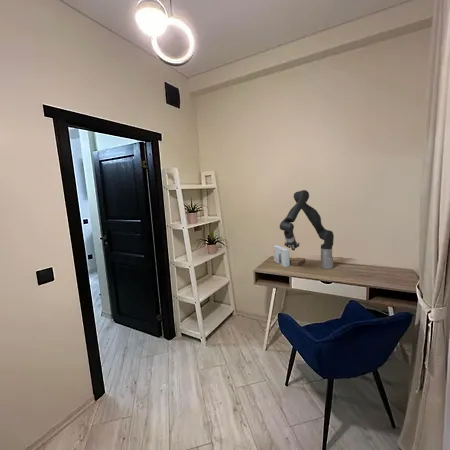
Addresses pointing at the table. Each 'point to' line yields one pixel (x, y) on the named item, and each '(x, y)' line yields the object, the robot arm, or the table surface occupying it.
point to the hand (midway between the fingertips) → (293, 249)
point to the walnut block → (297, 261)
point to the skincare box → (281, 255)
